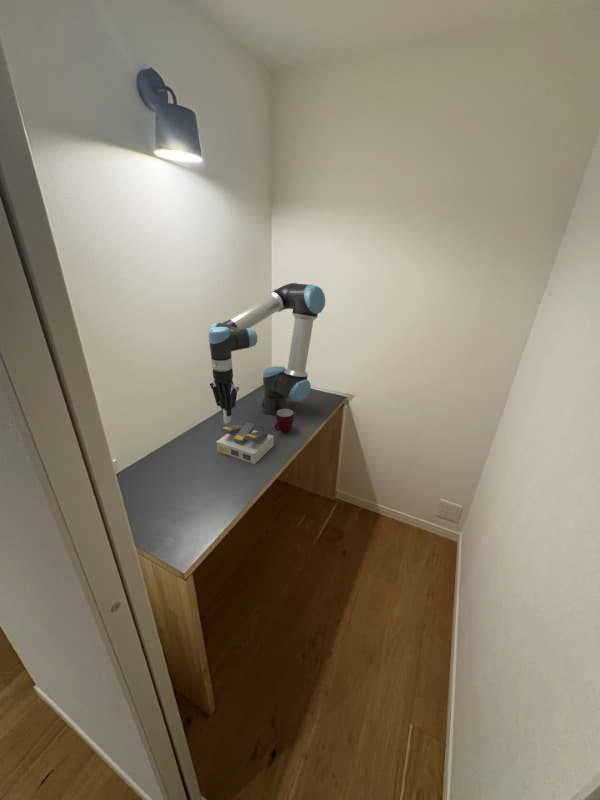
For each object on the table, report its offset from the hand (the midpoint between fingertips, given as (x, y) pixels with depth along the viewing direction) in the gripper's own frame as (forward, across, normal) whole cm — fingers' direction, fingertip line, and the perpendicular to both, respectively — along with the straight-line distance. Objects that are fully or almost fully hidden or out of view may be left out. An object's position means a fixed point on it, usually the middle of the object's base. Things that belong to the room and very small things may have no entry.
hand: (227, 422), depth 131 cm
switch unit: (+13, +6, +3) cm, 15 cm away
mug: (+13, +14, +22) cm, 29 cm away
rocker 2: (+5, +6, +3) cm, 9 cm away
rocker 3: (+5, +12, +3) cm, 14 cm away
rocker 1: (+5, 0, +3) cm, 6 cm away
